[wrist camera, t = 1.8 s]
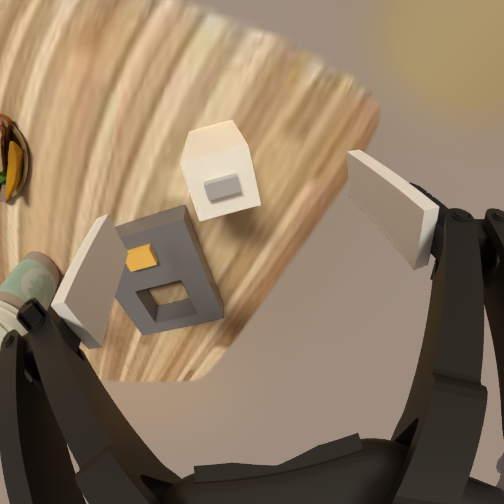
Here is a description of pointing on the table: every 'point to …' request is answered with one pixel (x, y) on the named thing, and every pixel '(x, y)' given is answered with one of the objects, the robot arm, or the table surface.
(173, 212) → the grey charger dock
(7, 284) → the coffee cup
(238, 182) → the block
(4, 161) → the toy sandwich meal
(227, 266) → the table surface
